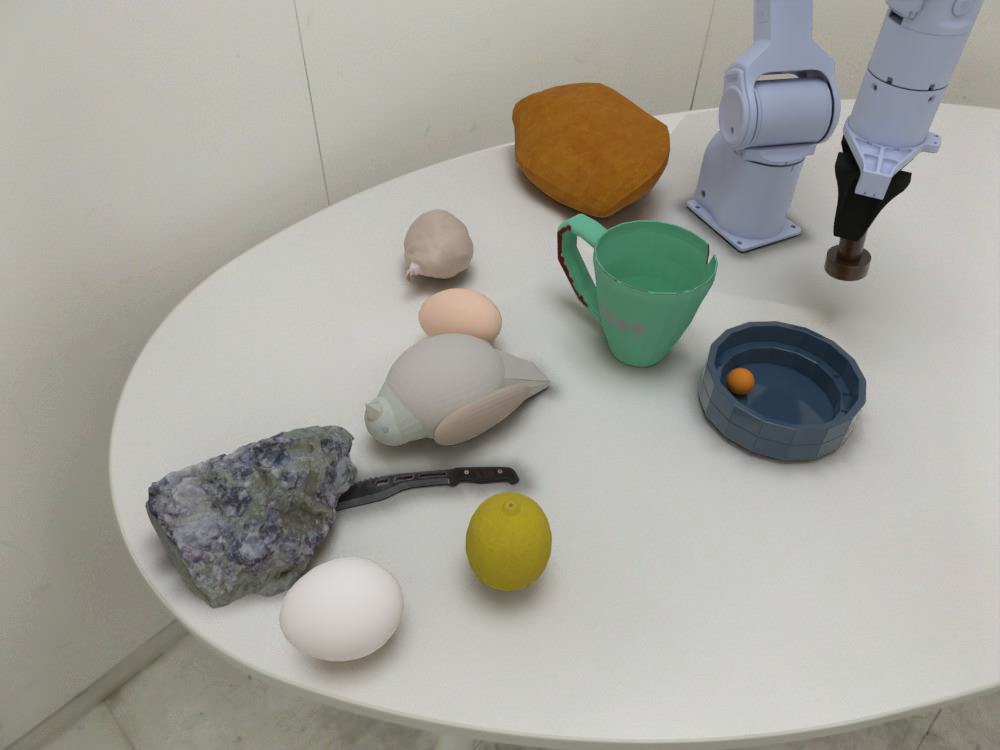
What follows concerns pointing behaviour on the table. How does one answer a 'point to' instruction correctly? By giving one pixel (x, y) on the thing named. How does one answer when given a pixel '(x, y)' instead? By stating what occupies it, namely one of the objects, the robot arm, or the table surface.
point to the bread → (589, 147)
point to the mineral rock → (253, 512)
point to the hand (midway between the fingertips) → (847, 229)
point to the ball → (740, 381)
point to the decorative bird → (450, 391)
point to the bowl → (783, 390)
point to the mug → (638, 282)
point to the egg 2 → (460, 314)
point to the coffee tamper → (848, 260)
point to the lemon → (508, 541)
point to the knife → (420, 482)
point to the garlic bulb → (437, 246)
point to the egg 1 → (342, 609)
